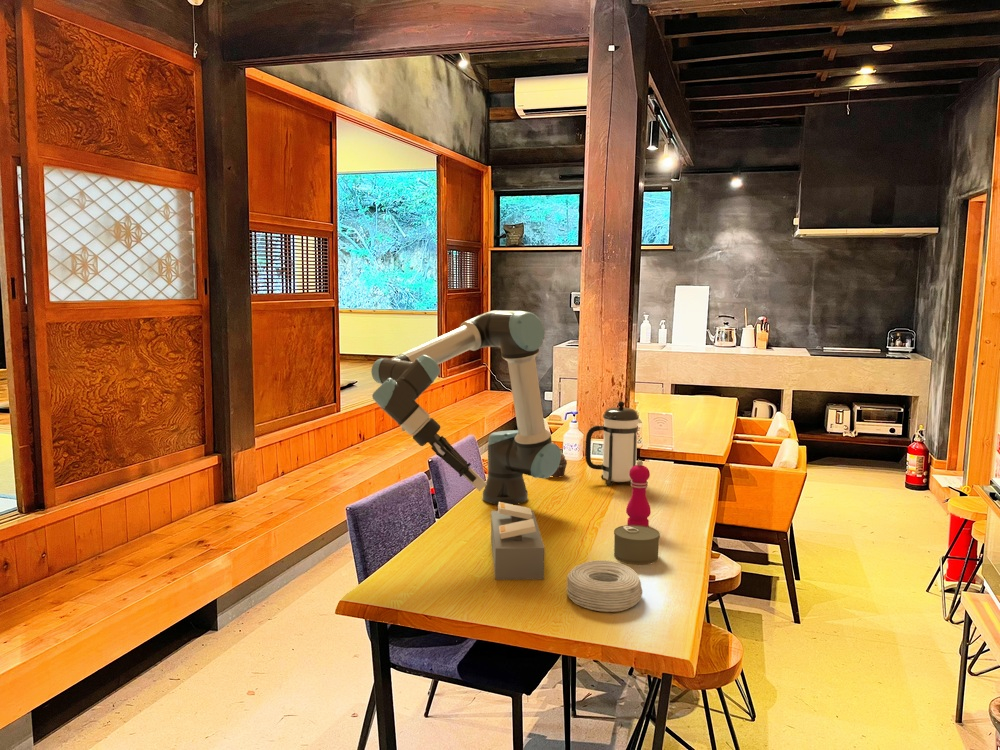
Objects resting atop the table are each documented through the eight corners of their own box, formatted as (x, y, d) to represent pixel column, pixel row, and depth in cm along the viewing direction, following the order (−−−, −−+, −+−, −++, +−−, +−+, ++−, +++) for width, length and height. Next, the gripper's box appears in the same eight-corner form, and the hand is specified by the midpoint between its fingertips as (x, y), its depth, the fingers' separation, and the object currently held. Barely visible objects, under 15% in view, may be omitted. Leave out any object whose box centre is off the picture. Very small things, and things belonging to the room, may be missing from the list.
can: (629, 568, 191) (630, 542, 190) (604, 552, 202) (605, 528, 201) (668, 561, 196) (669, 536, 195) (642, 546, 207) (642, 522, 206)
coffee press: (612, 474, 284) (614, 396, 280) (647, 482, 273) (650, 401, 269) (583, 482, 272) (585, 401, 268) (619, 491, 261) (621, 406, 257)
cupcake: (539, 472, 287) (539, 446, 285) (564, 471, 288) (564, 446, 286) (543, 478, 277) (543, 452, 276) (568, 478, 278) (569, 451, 277)
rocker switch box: (490, 531, 218) (490, 500, 217) (531, 530, 219) (531, 500, 218) (495, 579, 183) (495, 543, 181) (544, 579, 183) (544, 543, 182)
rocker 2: (499, 531, 192) (498, 525, 192) (533, 523, 192) (532, 518, 192) (501, 539, 186) (499, 533, 186) (536, 531, 186) (535, 525, 186)
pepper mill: (650, 529, 220) (652, 463, 218) (625, 528, 222) (627, 462, 219) (650, 522, 227) (652, 458, 225) (626, 520, 229) (628, 456, 226)
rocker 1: (497, 506, 207) (498, 501, 206) (529, 512, 207) (530, 507, 207) (498, 513, 201) (499, 507, 200) (531, 519, 201) (532, 514, 201)
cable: (608, 577, 185) (609, 554, 184) (658, 603, 170) (659, 578, 170) (551, 592, 176) (552, 568, 175) (599, 621, 161) (600, 594, 160)
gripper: (413, 431, 206) (473, 490, 209) (409, 441, 193) (473, 503, 196) (432, 412, 206) (492, 471, 208) (429, 421, 193) (493, 484, 195)
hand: (483, 487), depth 202 cm, fingers closed
